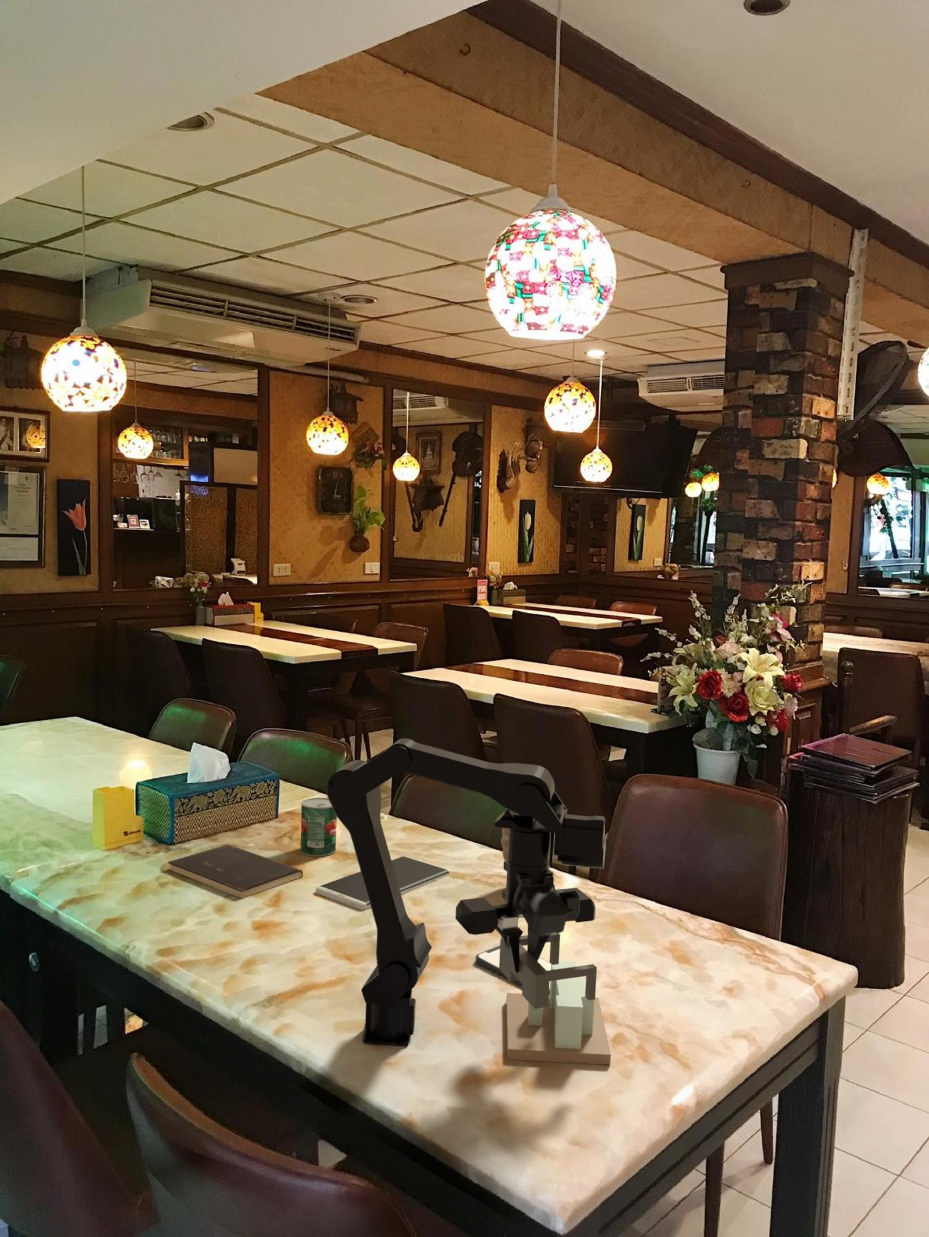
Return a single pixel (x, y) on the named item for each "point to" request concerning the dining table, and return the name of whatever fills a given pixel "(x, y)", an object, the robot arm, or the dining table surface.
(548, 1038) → the green blocks on base
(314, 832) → the canned tomato
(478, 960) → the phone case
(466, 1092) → the dining table surface
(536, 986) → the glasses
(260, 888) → the hardcover book
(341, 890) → the smartphone
